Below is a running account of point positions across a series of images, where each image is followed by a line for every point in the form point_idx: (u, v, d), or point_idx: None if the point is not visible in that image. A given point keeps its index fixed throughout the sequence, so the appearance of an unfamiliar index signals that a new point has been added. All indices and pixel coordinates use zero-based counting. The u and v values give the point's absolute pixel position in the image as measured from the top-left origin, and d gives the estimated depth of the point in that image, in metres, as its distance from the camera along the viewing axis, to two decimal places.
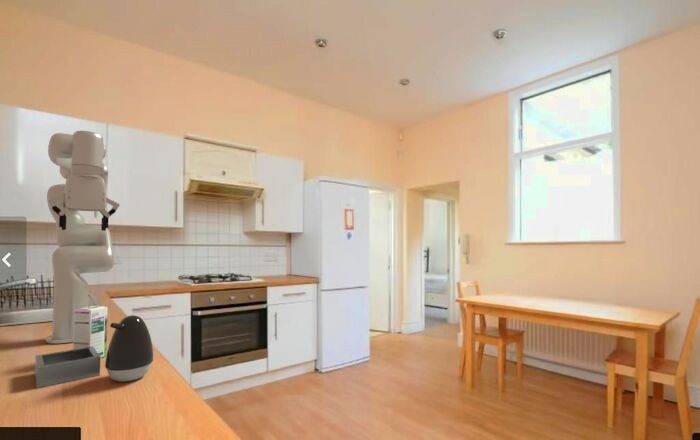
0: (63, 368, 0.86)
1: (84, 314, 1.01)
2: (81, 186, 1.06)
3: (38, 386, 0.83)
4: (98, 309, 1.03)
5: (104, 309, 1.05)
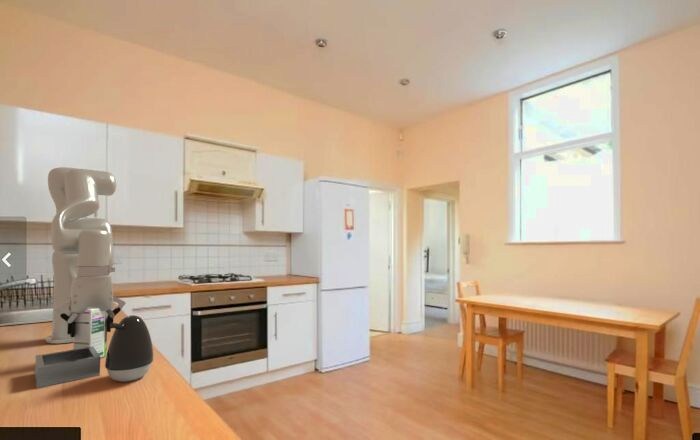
0: (63, 368, 0.86)
1: (84, 314, 1.01)
2: (88, 288, 1.02)
3: (38, 386, 0.83)
4: (98, 309, 1.03)
5: None
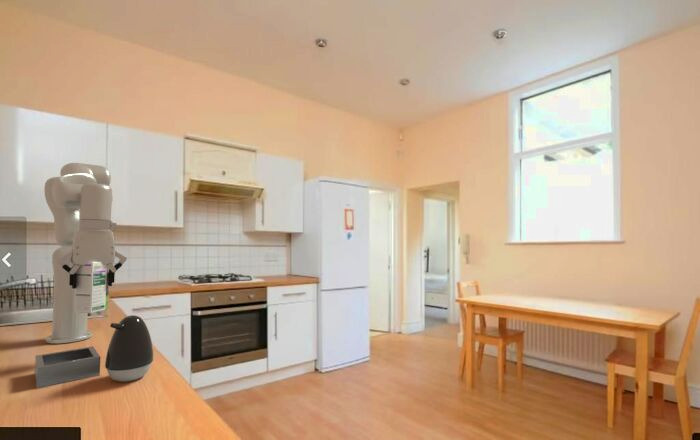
0: (63, 368, 0.86)
1: (86, 266, 1.02)
2: (90, 241, 1.03)
3: (38, 386, 0.83)
4: (100, 262, 1.04)
5: None
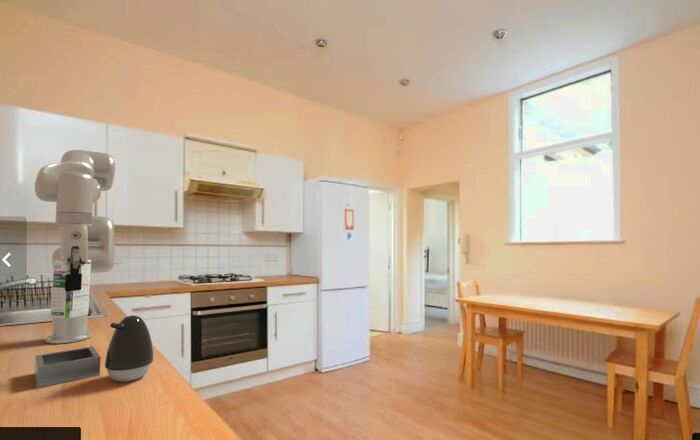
0: (63, 368, 0.86)
1: None
2: None
3: (38, 386, 0.83)
4: (61, 261, 0.90)
5: None
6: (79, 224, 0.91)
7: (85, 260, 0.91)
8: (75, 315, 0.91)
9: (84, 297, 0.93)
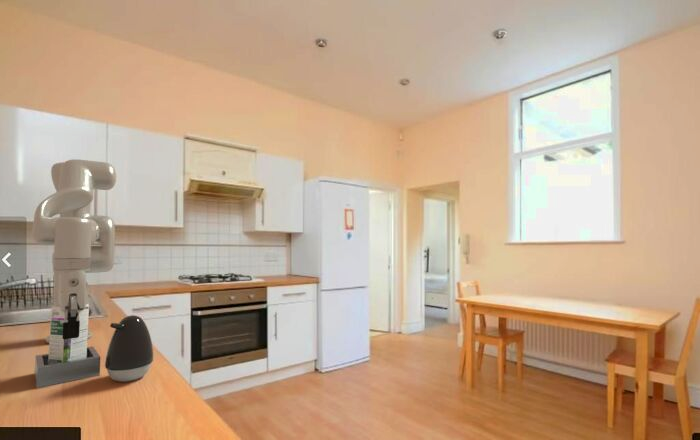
0: (63, 368, 0.86)
1: None
2: (58, 282, 0.92)
3: (38, 386, 0.83)
4: (59, 308, 0.90)
5: None
6: (77, 270, 0.91)
7: (83, 307, 0.90)
8: None
9: (82, 343, 0.92)
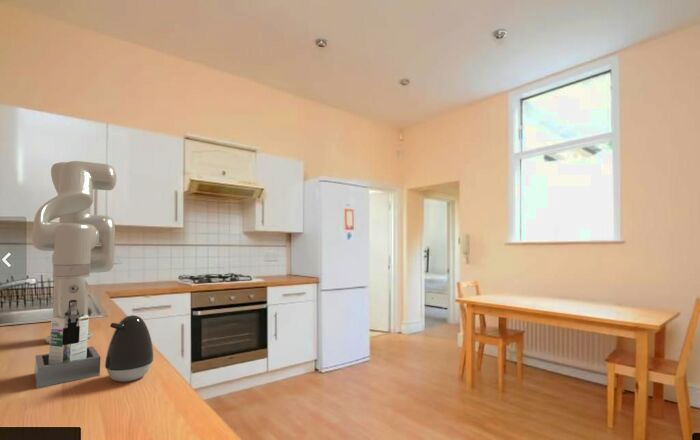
0: (63, 368, 0.86)
1: None
2: None
3: (38, 386, 0.83)
4: (59, 319, 0.90)
5: (64, 321, 0.90)
6: (77, 276, 0.91)
7: (83, 313, 0.90)
8: None
9: (81, 354, 0.93)
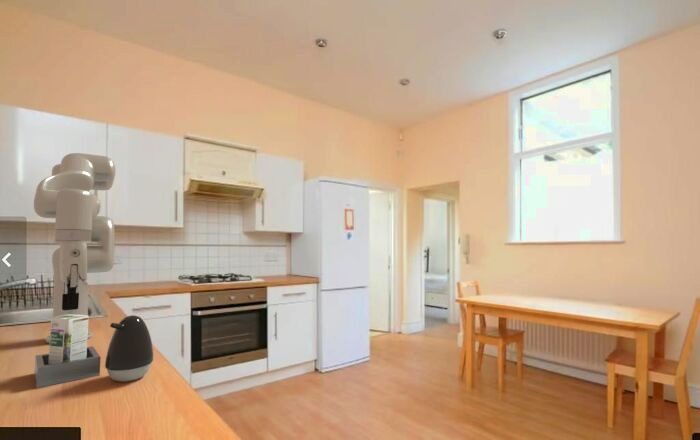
0: (63, 368, 0.86)
1: None
2: None
3: (38, 386, 0.83)
4: (59, 319, 0.90)
5: (64, 321, 0.90)
6: (78, 241, 0.91)
7: (84, 277, 0.90)
8: None
9: (81, 354, 0.93)
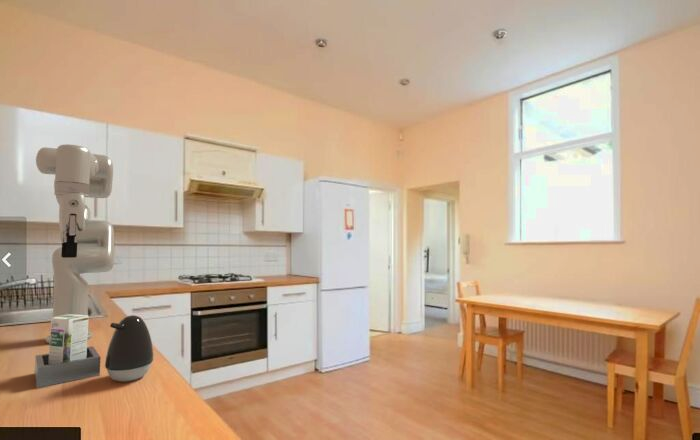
0: (63, 368, 0.86)
1: None
2: (59, 205, 0.99)
3: (38, 386, 0.83)
4: (59, 319, 0.90)
5: (64, 321, 0.90)
6: (77, 193, 0.98)
7: (82, 227, 0.97)
8: None
9: (81, 354, 0.93)
